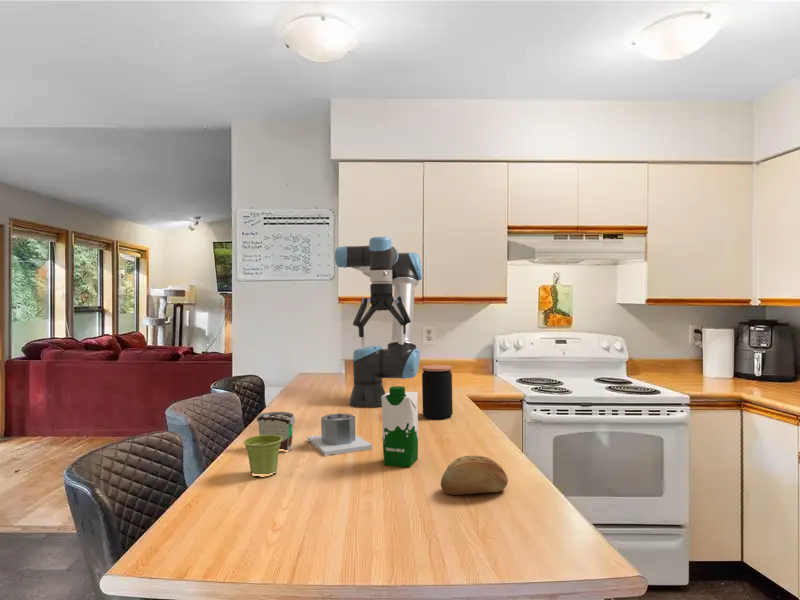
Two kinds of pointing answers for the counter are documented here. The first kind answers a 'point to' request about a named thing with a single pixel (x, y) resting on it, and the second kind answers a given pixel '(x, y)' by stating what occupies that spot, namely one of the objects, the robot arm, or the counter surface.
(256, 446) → the plant pot
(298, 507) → the counter surface
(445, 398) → the coffee jar
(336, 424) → the collar
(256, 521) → the counter surface
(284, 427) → the food container
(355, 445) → the panel
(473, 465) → the bread roll
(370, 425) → the counter surface
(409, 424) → the milk carton
